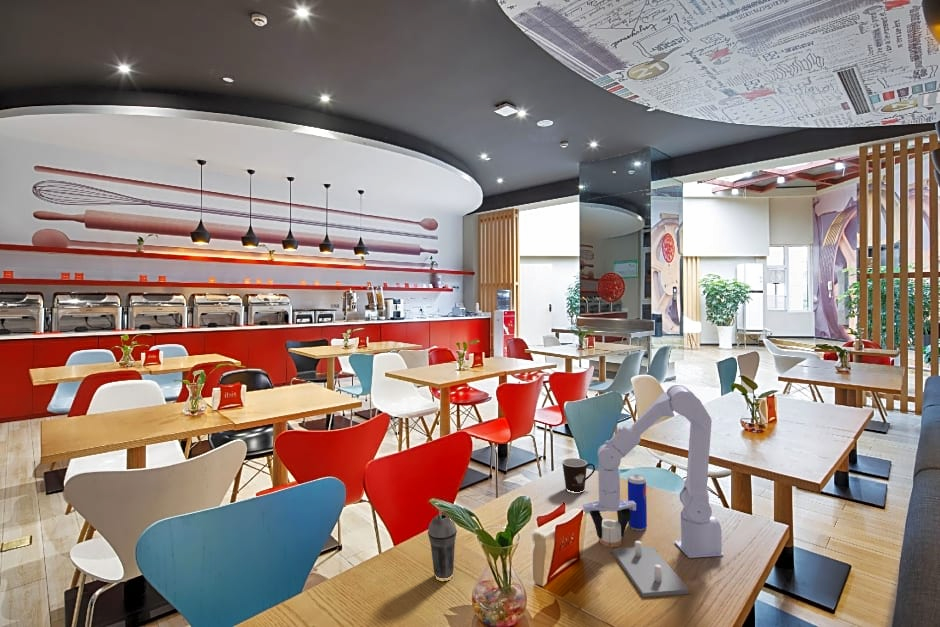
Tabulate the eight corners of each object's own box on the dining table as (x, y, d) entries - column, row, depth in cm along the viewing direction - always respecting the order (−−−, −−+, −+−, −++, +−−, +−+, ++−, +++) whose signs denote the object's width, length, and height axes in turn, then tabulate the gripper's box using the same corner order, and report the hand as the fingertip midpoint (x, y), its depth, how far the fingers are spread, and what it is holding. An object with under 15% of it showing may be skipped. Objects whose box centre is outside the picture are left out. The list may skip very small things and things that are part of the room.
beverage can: (648, 531, 138) (647, 481, 137) (629, 530, 139) (628, 480, 138) (645, 523, 143) (644, 474, 142) (627, 522, 144) (626, 473, 143)
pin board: (612, 552, 127) (612, 536, 127) (651, 549, 128) (651, 533, 128) (643, 597, 109) (642, 578, 108) (689, 593, 109) (689, 574, 109)
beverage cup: (462, 571, 121) (459, 494, 120) (452, 587, 114) (449, 506, 113) (436, 566, 123) (433, 491, 123) (424, 582, 117) (421, 503, 116)
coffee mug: (563, 494, 165) (562, 466, 164) (562, 484, 173) (561, 457, 173) (597, 496, 163) (597, 467, 162) (595, 486, 171) (594, 458, 171)
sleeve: (616, 535, 136) (615, 518, 136) (623, 546, 130) (623, 528, 130) (597, 537, 136) (596, 520, 135) (604, 547, 130) (603, 529, 130)
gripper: (628, 481, 137) (629, 527, 138) (579, 484, 136) (580, 530, 136) (639, 491, 130) (639, 539, 130) (587, 494, 129) (588, 543, 129)
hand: (610, 535), depth 133 cm, fingers closed on sleeve, 6 cm apart
